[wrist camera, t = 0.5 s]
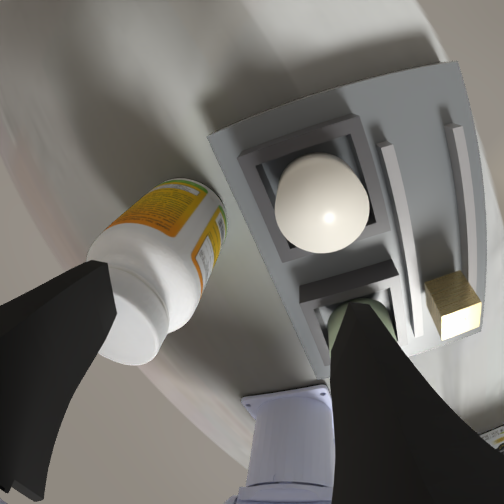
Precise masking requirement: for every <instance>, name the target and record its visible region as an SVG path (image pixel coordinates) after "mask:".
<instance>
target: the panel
mask: <svg viewBox="0 0 504 504" xmlns="http://www.w3.org/2000/svg"><path fill="white" fill-rule="evenodd" d="M207 139H208V141H209V143H210V145H211V147H212V150H213V152H214V154H215V156H216V158H217V160H218V162H219V165H220V167H221V169H222V171H223V173H224V175H225V178H226V180H227V182H228V184H229V186H230V188H231V191H232V193H233V195H234V197H235V199H236V202H237V204H238V206H239V208H240V210H241V212H242V215H243V217H244V219H245V221H246V223H247V225H248V228H249V230H250V232H251V234H252V236H253V239H254V241H255V243H256V245H257V247H258V250H259V252H260V254H261V256H262V258H263V261H264V263H265V265H266V267H267V269H268V271H269V274H270V276H271V278H272V280H273V282H274V285H275V287H276V289H277V291H278V294H279V296H280V298H281V300H282V302H283V305H284V307H285V309H286V311H287V313H288V316H289V318H290V320H291V322H292V324H293V327H294V329H295V331H296V333H297V336H298V338H299V340H300V342H301V344H302V347H303V349H304V351H305V353H306V356H307V358H308V360H309V362H310V365H311V367H312V369H313V371H314V373H315V376H316V378H317V380H320V379H325V378H329V377H330V362H331V359H330V352H329V339H328V326H327V324H328V319H329V317H330V315H331V314H332V312H333V311H334V310H335V309H336V308H337V307H338V306H340V305H341V304H343V303H345V302H347V301H349V300H352V299H357V298H370V299H374V300H377V301H379V302H381V303H382V304H383V305H384V306H385V307H386V308H387V310H388V313H389V316H390V319H391V323H392V326H393V329H394V333H395V336H396V339H397V343H398V344H399V346H400V347H401V349H402V350H403V351H404V353H405V354H406V355H407V357H410V356H413V355H417V354H420V353H423V352H426V351H429V350H432V349H435V348H438V347H441V346H443V345H446V344H449V343H452V342H455V341H457V340H460V339H463V338H465V337H468V336H470V335H473V334H475V333H478V332H480V331H481V329H482V321H483V312H484V301H485V288H486V265H487V232H486V209H485V196H484V185H483V176H482V168H481V161H480V154H479V148H478V142H477V136H476V131H475V126H474V121H473V116H472V112H471V108H470V103H469V99H468V96H467V92H466V88H465V84H464V81H463V77H462V74H461V71H460V67H459V64H458V61H451V62H440V63H434V64H429V65H423V66H418V67H413V68H409V69H404V70H399V71H395V72H391V73H386V74H382V75H378V76H374V77H370V78H366V79H363V80H359V81H355V82H352V83H348V84H345V85H341V86H338V87H334V88H331V89H328V90H325V91H321V92H318V93H315V94H312V95H309V96H306V97H303V98H300V99H297V100H294V101H291V102H288V103H286V104H283V105H280V106H277V107H275V108H272V109H269V110H267V111H264V112H261V113H259V114H256V115H254V116H251V117H248V118H246V119H243V120H241V121H239V122H236V123H234V124H231V125H229V126H227V127H224V128H222V129H220V130H217V131H215V132H214V133H212V134H210V135H209V136H207ZM313 152H323V153H329V154H332V155H335V156H337V157H339V158H341V159H342V160H343V161H345V162H346V163H347V164H348V165H349V166H350V167H351V169H352V170H353V171H354V173H355V174H356V176H357V177H358V179H359V180H360V182H361V184H362V185H363V187H364V189H365V191H366V193H367V196H368V200H369V217H368V221H367V223H366V226H365V228H364V230H363V231H362V233H361V234H360V236H359V237H358V238H357V239H356V240H355V241H354V242H352V243H351V244H350V245H348V246H347V247H345V248H343V249H340V250H338V251H334V252H330V253H313V252H309V251H305V250H303V249H300V248H298V247H296V246H295V245H293V244H292V243H291V242H290V241H288V240H287V239H286V237H285V236H284V235H283V234H282V232H281V231H280V229H279V227H278V224H277V221H276V217H275V201H276V195H277V189H278V183H279V180H280V177H281V175H282V173H283V171H284V170H285V168H286V167H287V166H288V165H289V164H290V163H291V162H292V161H293V160H295V159H296V158H298V157H300V156H302V155H304V154H308V153H313ZM459 270H461V272H462V273H463V275H464V276H465V278H466V279H467V281H468V282H469V284H470V285H471V287H472V288H473V290H474V291H475V293H476V294H477V296H478V297H479V299H480V300H481V302H482V303H481V314H480V323H479V327H476V328H474V329H471V330H469V331H466V332H463V333H461V334H458V335H455V336H453V337H450V338H447V339H444V340H441V338H440V335H439V333H438V331H437V328H436V326H435V324H434V322H433V319H432V317H431V315H430V313H429V310H428V308H427V306H426V295H425V284H424V282H427V281H430V280H433V279H436V278H439V277H442V276H444V275H447V274H450V273H453V272H456V271H459Z"/></svg>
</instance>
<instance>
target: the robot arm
mask: <svg viewBox="0 0 504 504" xmlns="http://www.w3.org/2000/svg"><path fill="white" fill-rule="evenodd" d="M116 315H117V310H116V305H115V300H114V295H113V290H112V285H111V280H110V274H109V268H108V263H106V262H101V261H96V260H90V261H88V262H85V263H83V264H81V265H78V266H76V267H74V268H72V269H70V270H68V271H66V272H65V273H63V274H61V275H59V276H57V277H55V278H53V279H51V280H49V281H48V282H46V283H44V284H42V285H40V286H38V287H37V288H35V289H33V290H31V291H29V292H27V293H25V294H23V295H21V296H19V297H17V298H15V299H13V300H11V301H9V302H7V303H5V304H3V305H1V306H0V489H1V490H3V491H4V492H5V493H8V492H9V491H10V488H11V487H13V488H14V489H15V490H17V491H19V492H20V493H22V494H23V495H25V496H26V497H28V498H29V499H31V500H33V501H36V502H37V501H41V500H43V499H44V491H45V485H46V478H47V472H48V467H49V463H50V459H51V455H52V451H53V447H54V444H55V441H56V438H57V434H58V431H59V428H60V426H61V422H62V420H63V418H64V415H65V413H66V410H67V408H68V405H69V403H70V400H71V398H72V396H73V394H74V392H75V390H76V389H77V387H78V385H79V384H80V382H81V380H82V378H83V377H84V375H85V373H86V372H87V370H88V368H89V367H90V365H91V363H92V362H93V360H94V358H95V357H96V355H97V353H98V352H99V350H100V348H101V347H102V345H103V343H104V342H105V340H106V338H107V336H108V334H109V331H110V329H111V327H112V325H113V322H114V320H115V318H116ZM330 387H331V395H330V392H329V390H328V387H327V386H326V385H316V386H311V387H306V388H300V389H295V390H289V391H282V392H276V393H269V394H262V395H255V396H247V397H243V398H242V399H241V403H242V404H243V405H244V407H245V408H246V409H247V410H248V412H249V413H250V414H251V415H252V417H253V418H254V419H255V420H256V423H255V430H254V436H253V443H252V449H251V456H250V462H249V469H248V476H247V481H246V487H239V493H238V495H233V496H231V497H230V498H229V499H228V500H226V501H225V502H224V503H223V504H504V455H503V454H501V453H500V452H499V451H497V450H496V449H495V448H493V447H492V446H491V445H490V444H489V443H487V442H486V441H485V440H484V439H483V438H481V437H480V436H479V435H478V434H477V433H476V432H475V431H474V430H473V429H472V428H470V427H469V426H468V425H467V424H466V423H465V422H464V421H463V420H462V419H461V418H460V417H459V416H458V415H457V414H456V413H455V412H454V411H453V410H452V409H451V408H450V407H449V406H448V405H447V404H446V403H445V401H444V400H443V399H442V398H441V397H440V396H439V395H438V394H437V393H436V392H435V390H434V389H433V388H432V387H431V386H430V384H429V383H428V382H427V381H426V380H425V378H424V377H423V376H422V375H421V373H420V372H419V371H418V370H417V368H416V367H415V366H414V364H413V363H412V362H411V361H410V359H409V358H408V357H407V355H406V354H405V353H404V351H403V350H402V349H401V347H400V346H399V344H398V343H397V342H396V340H395V339H394V338H393V336H392V335H391V333H390V332H389V331H388V329H387V328H386V326H385V325H384V324H383V322H382V321H381V319H380V318H379V317H378V315H377V314H376V313H375V311H374V310H373V309H372V307H371V306H370V305H369V304H364V303H356V302H349V303H348V306H347V309H346V312H345V315H344V317H343V320H342V323H341V326H340V328H339V331H338V334H337V336H336V339H335V342H334V344H333V347H332V349H331V362H330ZM0 504H7V503H6V502H4V501H3V500H2V499H0Z"/></svg>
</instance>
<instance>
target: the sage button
mask: <svg viewBox="0 0 504 504" xmlns="http://www.w3.org/2000/svg"><path fill="white" fill-rule="evenodd" d="M349 302H356V303H364V304H369V305H370V306H371V307H372V309H373V310H374V311H375V313H376V314H377V315H378V317H379V318H380V319H381V321H382V322H383V324H384V325H385V326H386V328H387V329H388V331H389V332H390V333H391V335H392V336H393V338H394V339H395V340H396V342H397V339H396V336H395V333H394V329H393V326H392V323H391V319H390V316H389V313H388V310H387V308H386V307H385V306H384V305H383V304H382V303H381V302H379V301H377V300H374V299H370V298H357V299H352V300H349V301H347V302H345V303H343V304H341V305H340V306H338V307H337V308H336V309H335V310H334V311H333V312H332V314H331V315H330V317H329V319H328V324H327V326H328V339H329V352H330V359H331V349H332V347H333V344H334V342H335V339H336V336H337V334H338V331H339V328H340V326H341V323H342V320H343V317H344V315H345V312H346V309H347V306H348V303H349Z"/></svg>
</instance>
